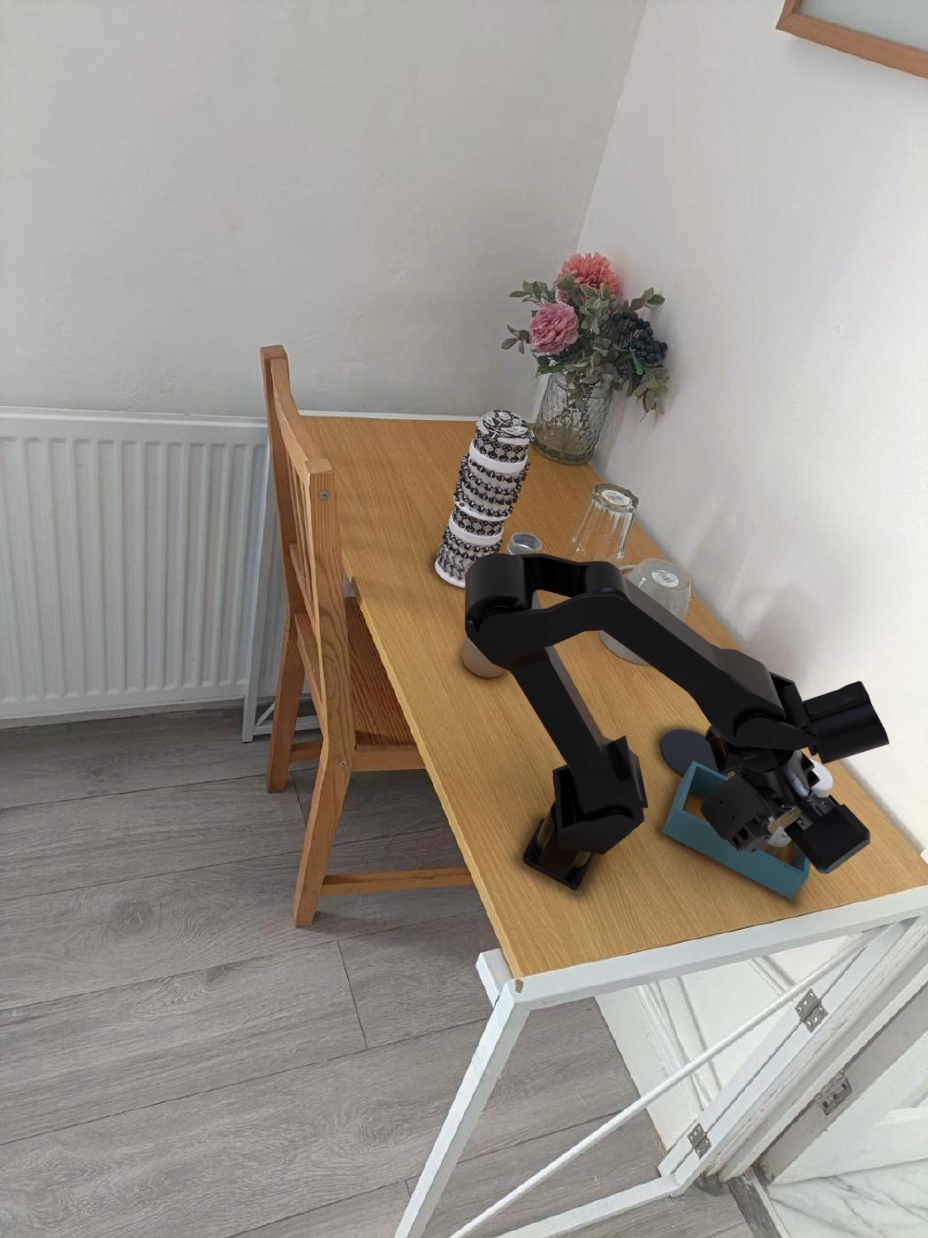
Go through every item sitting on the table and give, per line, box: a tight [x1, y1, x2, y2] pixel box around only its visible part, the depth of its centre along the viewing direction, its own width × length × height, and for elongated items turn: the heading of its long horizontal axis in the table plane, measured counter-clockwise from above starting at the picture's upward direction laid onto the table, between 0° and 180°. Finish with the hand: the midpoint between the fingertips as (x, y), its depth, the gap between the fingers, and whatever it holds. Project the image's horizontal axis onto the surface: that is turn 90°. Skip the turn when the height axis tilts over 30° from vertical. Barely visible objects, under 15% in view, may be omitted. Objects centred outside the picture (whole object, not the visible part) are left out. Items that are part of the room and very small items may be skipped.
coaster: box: [659, 728, 729, 778], centre depth 110 cm, size 9×9×1 cm
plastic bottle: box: [460, 531, 543, 678], centre depth 108 cm, size 6×7×20 cm
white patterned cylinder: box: [434, 409, 536, 589], centre depth 122 cm, size 9×9×25 cm
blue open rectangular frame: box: [662, 761, 811, 900], centre depth 100 cm, size 9×15×4 cm, turn 66°
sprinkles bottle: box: [760, 758, 834, 859], centre depth 97 cm, size 5×5×13 cm
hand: (794, 807), depth 97 cm, fingers open, 5 cm apart
